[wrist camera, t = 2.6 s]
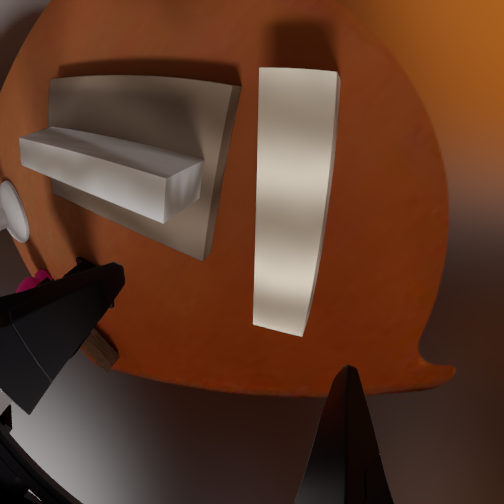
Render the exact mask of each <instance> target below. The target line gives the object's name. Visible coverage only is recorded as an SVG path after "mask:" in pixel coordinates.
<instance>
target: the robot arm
mask: <svg viewBox="0 0 504 504" xmlns="http://www.w3.org/2000/svg"><path fill="white" fill-rule="evenodd" d="M76 261H77V266H75V267H74V268H73V269H72V270H70V271H69V272H68V273H67V274H65V275H64V276H63V278H61V279H58V280H54V279H52V280H51V279H49V278H48V277H46V278H45V279H44V280H42V281H41V282H40V283H39V284H37V285H36V286H35V287H34V288H31V289H28V290H24V291H21V292H17V293H14V294H10V295H6V296H2V297H0V504H83V503H81V502H80V501H79V500H77V499H76V498H75V497H74V496H72V495H71V494H70V493H69V492H67V491H66V490H65V489H64V488H63V487H62V486H60V485H59V484H58V483H57V482H56V481H55V480H54V479H52V478H51V477H50V476H49V475H48V474H47V473H46V472H45V471H44V470H43V469H42V468H41V467H40V466H39V465H38V464H37V463H36V462H35V461H34V460H33V459H32V458H31V457H30V456H29V455H28V454H27V453H26V452H25V451H24V450H23V449H22V448H21V446H20V445H19V444H18V443H17V442H16V441H15V439H14V438H13V437H12V436H11V435H10V433H9V432H10V431H11V430H12V417H11V405H10V403H11V402H12V401H13V402H14V403H16V404H17V405H18V406H19V407H20V408H21V409H22V410H24V411H25V412H26V413H27V414H28V415H30V414H31V412H32V411H33V409H34V408H35V406H36V405H37V403H38V402H39V400H40V399H41V397H42V396H43V395H44V393H45V392H46V390H47V389H48V387H49V386H50V385H51V383H52V382H53V380H54V379H55V377H56V376H57V375H58V373H59V372H60V371H61V369H62V368H63V366H64V365H65V364H66V362H67V361H68V360H69V359H70V358H71V357H72V356H73V355H74V354H75V353H76V352H77V351H78V349H79V348H80V347H81V345H82V344H83V343H84V341H85V340H86V339H87V337H88V336H89V335H90V333H91V330H92V329H93V328H94V326H95V325H96V324H97V323H98V322H99V320H100V319H101V318H102V317H103V315H104V314H105V313H106V311H107V310H108V308H111V309H112V308H113V307H114V303H113V301H114V299H115V298H116V296H117V295H118V293H119V292H120V291H121V289H122V288H123V286H124V284H125V276H124V268H123V266H122V265H120V264H118V263H117V262H112V263H109V264H105V265H102V266H99V267H95V266H93V265H92V264H90V263H89V262H87V261H85V260H84V259H82V258H81V257H77V258H76ZM379 453H380V452H379V448H378V444H377V440H376V436H375V432H374V428H373V424H372V420H371V416H370V412H369V409H368V405H367V401H366V398H365V394H364V390H363V387H362V383H361V380H360V377H359V373H358V370H357V368H355V367H353V366H350V365H345V366H344V367H343V368H342V370H341V371H340V372H339V373H338V374H337V375H336V377H335V379H334V381H333V384H332V387H331V389H330V392H329V395H328V398H327V401H326V404H325V406H324V409H323V411H322V414H321V417H320V421H319V424H318V429H317V432H316V436H315V439H314V443H313V447H312V450H311V454H310V457H309V460H308V463H307V467H306V470H305V473H304V476H303V479H302V482H301V485H300V488H299V491H298V494H297V497H296V499H295V502H294V504H394V502H393V499H392V497H391V493H390V490H389V487H388V484H387V480H386V477H385V473H384V469H383V465H382V461H381V456H380V455H379ZM29 489H30V490H31V491H32V492H33V493H34V494H35V495H36V496H37V497H38V498H39V499H40V500H41V501H40V500H39V499H38V498H37V497H36V496H34V495H33V494H32V493H30V492H29V491H28V490H29Z"/></svg>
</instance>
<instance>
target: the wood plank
mask: <svg viewBox="0 0 504 504" xmlns="http://www.w3.org/2000/svg"><path fill="white" fill-rule="evenodd" d="M81 347H82V348H83V349H84V350H85V351H86V352H87V353H88V354H89V355H90V356H91V357H92V358H93V359H94V360H95V362H96V363H97V364H98V365H99V366H101V367H102V368H103V369H104V370H105V371H106V372H108V371H109V370H110V368H111V367H112V366H113V365H114V364H115V362H116V361H117V360H118V359H119V358H120V356H119V355H118V354H117V353H116V352H115V351H114V350H113V349H112V347H111V346H110V345H109V344H108V342H107V341H106V340H105V339H104V338H103V337H102V336H101V335H100V334H99V332H98V331H97V330H96V329H95V328H93V329H92V330H91V333H90V335H89V336H88V337H87V339H86V340H85V341H84V343H83V344H82V345H81Z"/></svg>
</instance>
